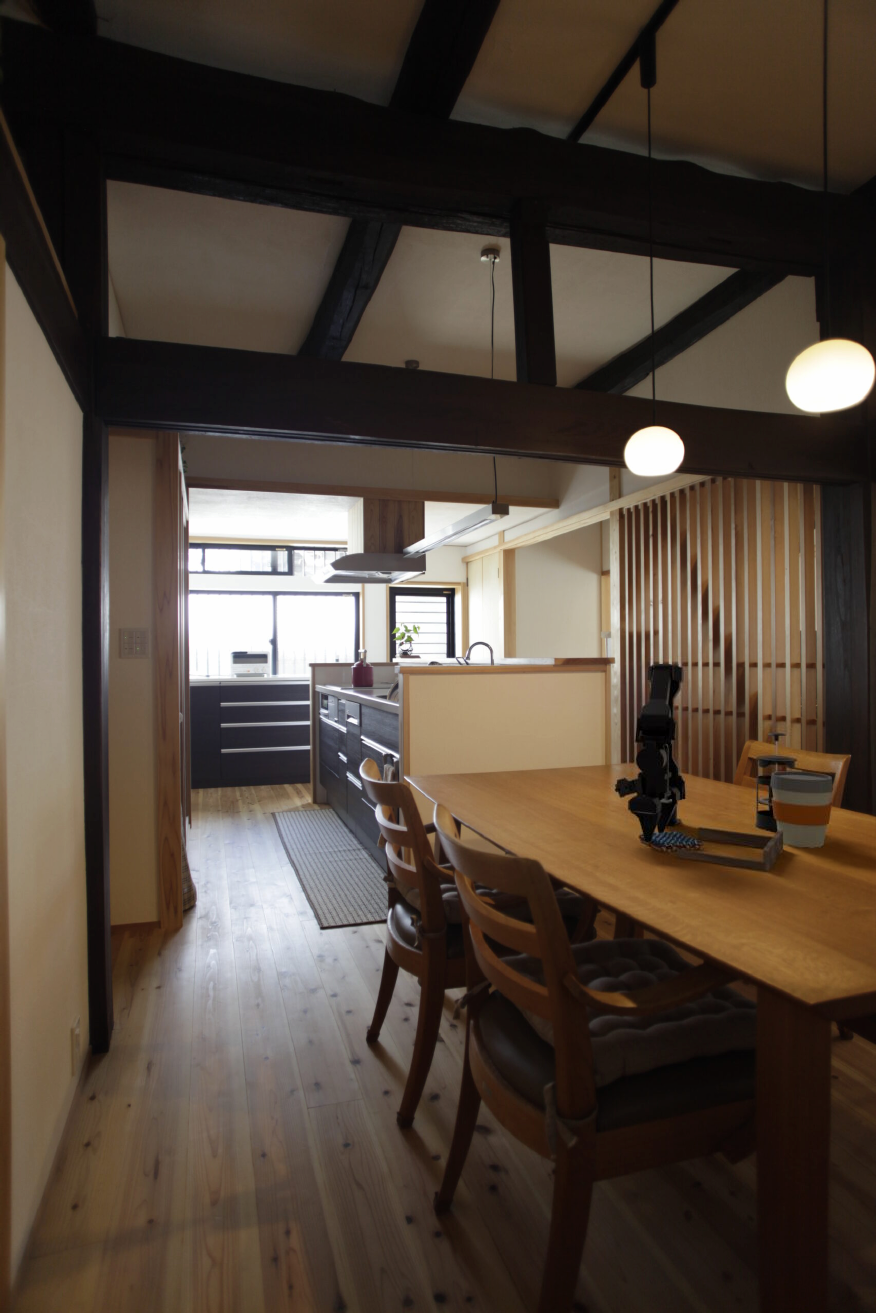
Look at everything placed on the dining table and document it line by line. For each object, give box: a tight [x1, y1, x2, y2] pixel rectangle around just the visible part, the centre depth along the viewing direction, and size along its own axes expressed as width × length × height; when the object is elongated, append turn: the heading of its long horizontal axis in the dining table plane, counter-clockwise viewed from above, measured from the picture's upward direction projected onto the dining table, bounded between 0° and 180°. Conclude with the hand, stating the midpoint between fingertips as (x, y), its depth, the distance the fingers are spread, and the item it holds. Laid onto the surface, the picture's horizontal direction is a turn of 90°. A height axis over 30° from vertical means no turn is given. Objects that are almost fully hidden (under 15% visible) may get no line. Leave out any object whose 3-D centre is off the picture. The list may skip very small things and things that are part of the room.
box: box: [676, 826, 784, 872], centre depth 153 cm, size 19×18×4 cm
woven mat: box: [638, 831, 704, 853], centre depth 160 cm, size 10×11×2 cm
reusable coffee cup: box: [770, 770, 834, 849], centre depth 162 cm, size 13×13×15 cm
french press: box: [754, 732, 798, 832], centre depth 177 cm, size 12×9×23 cm
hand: (654, 837), depth 162 cm, fingers open, 9 cm apart
